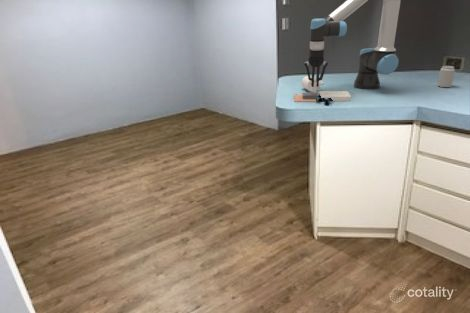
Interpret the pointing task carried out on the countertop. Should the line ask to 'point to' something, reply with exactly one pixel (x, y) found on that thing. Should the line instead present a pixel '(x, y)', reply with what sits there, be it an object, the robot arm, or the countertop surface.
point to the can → (446, 76)
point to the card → (310, 95)
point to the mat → (300, 99)
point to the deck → (336, 95)
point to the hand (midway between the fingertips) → (314, 92)
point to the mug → (307, 84)
